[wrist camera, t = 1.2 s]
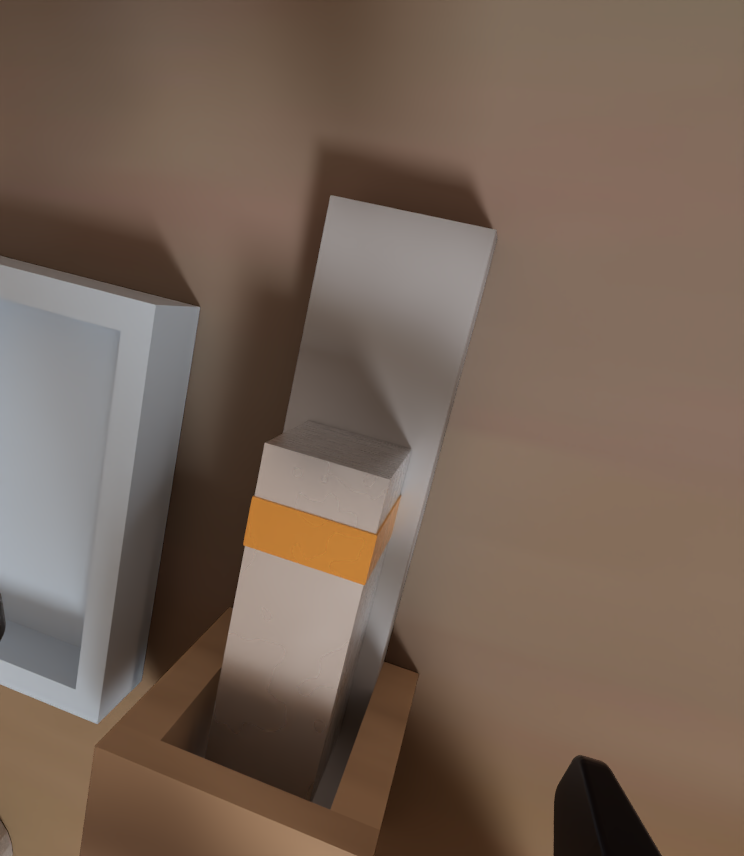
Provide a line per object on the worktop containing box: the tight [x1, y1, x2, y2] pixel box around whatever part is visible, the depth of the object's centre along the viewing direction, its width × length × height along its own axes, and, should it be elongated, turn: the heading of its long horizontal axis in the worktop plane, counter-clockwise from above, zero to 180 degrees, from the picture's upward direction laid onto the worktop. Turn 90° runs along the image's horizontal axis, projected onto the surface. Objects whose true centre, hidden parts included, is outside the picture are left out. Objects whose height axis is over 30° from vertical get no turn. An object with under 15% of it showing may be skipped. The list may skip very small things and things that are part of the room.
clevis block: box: [80, 195, 497, 856], centre depth 19 cm, size 25×8×8 cm, turn 167°
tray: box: [0, 256, 200, 724], centre depth 24 cm, size 17×11×3 cm, turn 167°
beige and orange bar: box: [204, 420, 411, 802], centre depth 20 cm, size 12×4×4 cm, turn 167°
